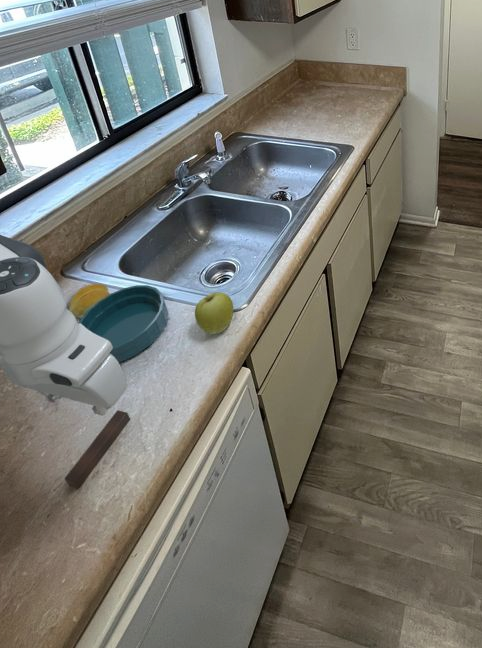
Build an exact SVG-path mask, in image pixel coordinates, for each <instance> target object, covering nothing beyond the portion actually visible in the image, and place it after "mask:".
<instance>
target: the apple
mask: <svg viewBox="0 0 482 648" xmlns="http://www.w3.org/2000/svg"><path fill="white" fill-rule="evenodd" d="M233 316H234V302H233V300H232V299H231V297H230V296H229V295H228V294H226V293H224V292H220V291H219V292H218V291H217V292H212V293H210V294H208V295H207V296H205V297H203V298H201V299H200V300H199V301H198V302H197V304H196V306H195V308H194V317H195V321H196V323H197V325H198V327H199V328H200V329H201V330H202V331H203V332H204V333H206V334H209V335H217V334H219V333H222V332H224V331H225V330H226V329H227V328H228V327H229V325H230V324H231V322H232V320H233Z"/></svg>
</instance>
